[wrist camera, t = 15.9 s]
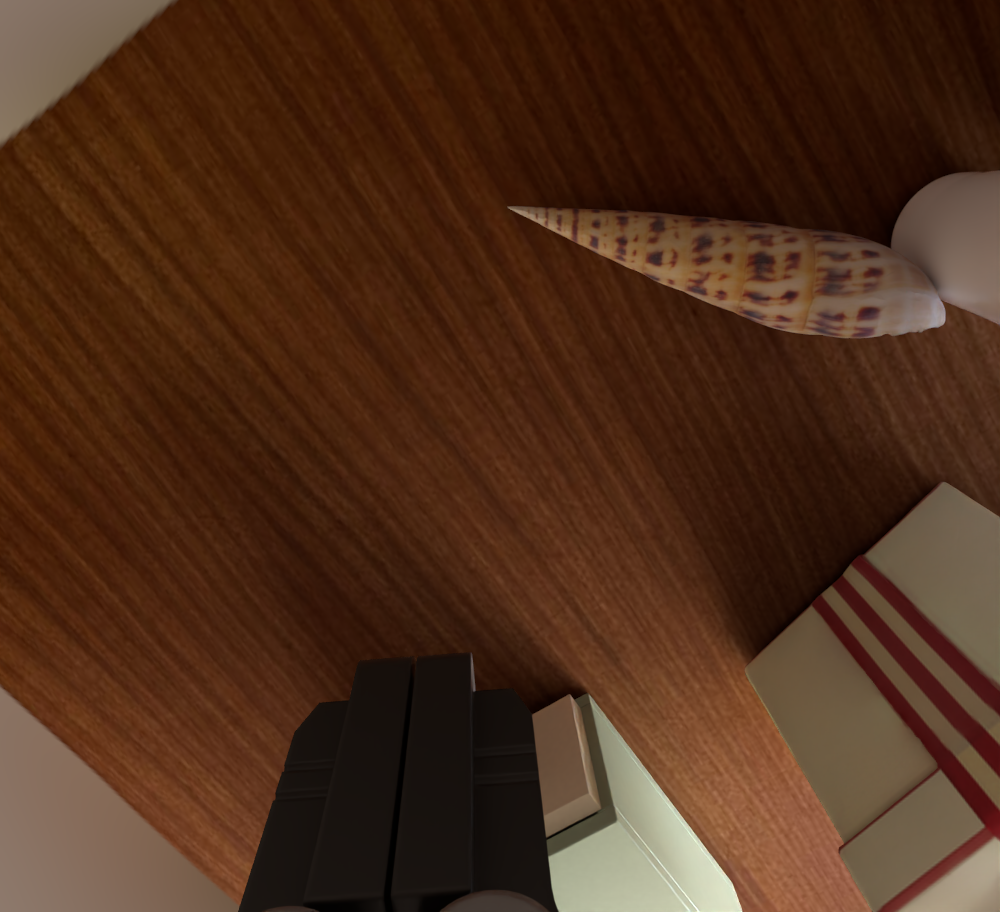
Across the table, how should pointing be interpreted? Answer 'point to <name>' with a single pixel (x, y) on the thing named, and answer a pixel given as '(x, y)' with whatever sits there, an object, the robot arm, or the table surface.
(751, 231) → the seashell
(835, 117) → the table surface
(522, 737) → the robot arm
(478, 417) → the table surface
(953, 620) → the gift box
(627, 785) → the cabinet
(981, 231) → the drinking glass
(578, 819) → the drawer
